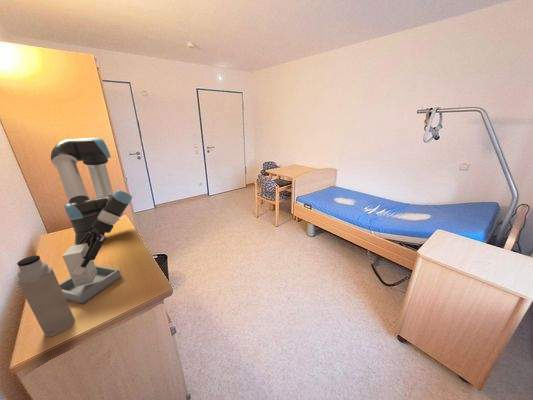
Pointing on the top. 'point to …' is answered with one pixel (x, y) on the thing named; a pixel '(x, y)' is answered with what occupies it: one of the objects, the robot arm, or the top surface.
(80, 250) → the skincare box
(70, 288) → the tray
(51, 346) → the top surface
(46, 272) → the thermos bottle
